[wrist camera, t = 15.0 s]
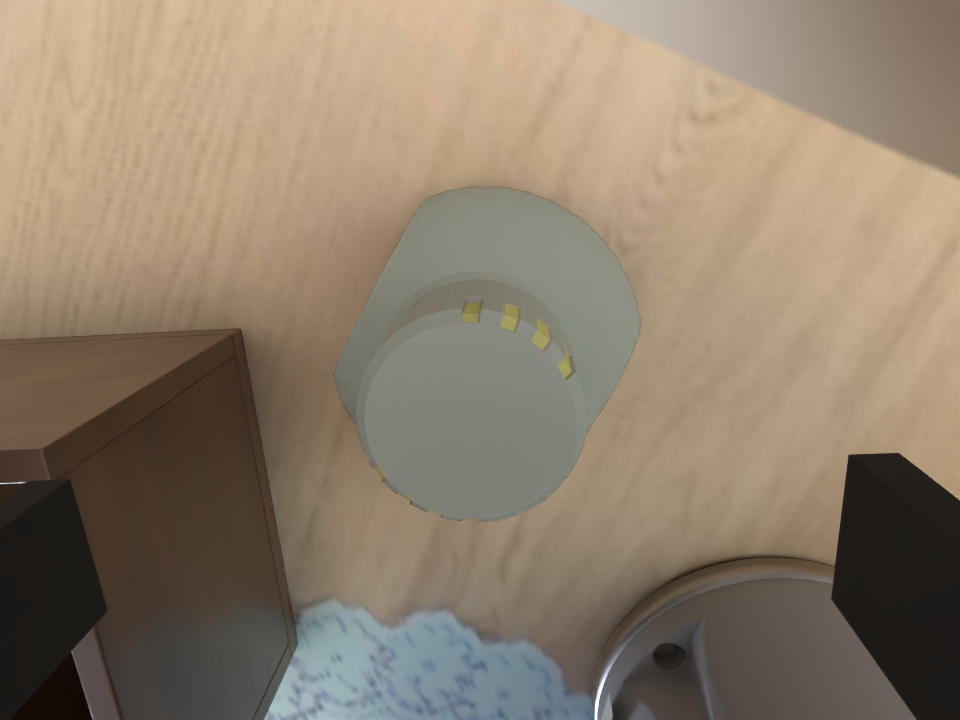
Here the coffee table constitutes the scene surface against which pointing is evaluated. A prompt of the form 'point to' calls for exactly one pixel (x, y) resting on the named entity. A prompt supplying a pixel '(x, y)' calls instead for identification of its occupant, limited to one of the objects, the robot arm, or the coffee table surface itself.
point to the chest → (156, 521)
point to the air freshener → (487, 352)
